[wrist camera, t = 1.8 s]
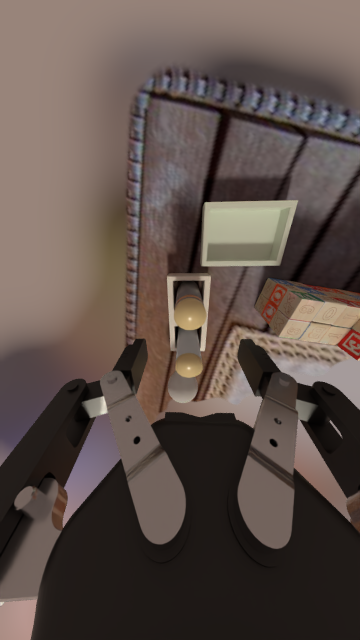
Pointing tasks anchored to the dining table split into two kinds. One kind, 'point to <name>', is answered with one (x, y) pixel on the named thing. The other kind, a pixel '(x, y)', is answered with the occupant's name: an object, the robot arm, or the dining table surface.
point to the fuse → (188, 353)
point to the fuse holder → (171, 303)
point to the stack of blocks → (312, 313)
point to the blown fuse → (189, 306)
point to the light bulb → (182, 388)
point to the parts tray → (245, 232)
